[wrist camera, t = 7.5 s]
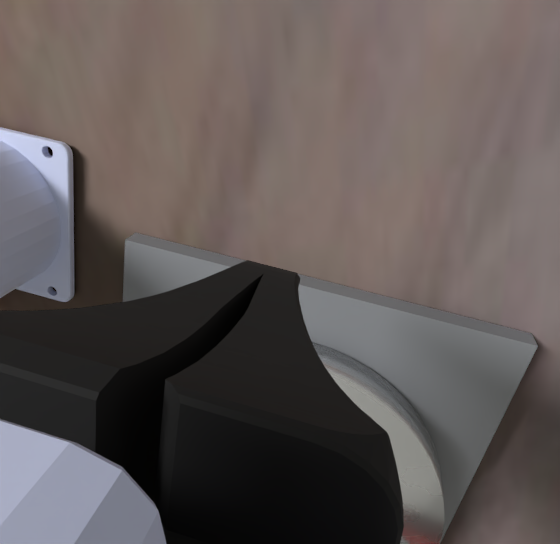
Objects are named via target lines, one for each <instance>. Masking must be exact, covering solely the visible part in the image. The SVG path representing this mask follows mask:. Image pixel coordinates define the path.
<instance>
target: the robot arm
mask: <svg viewBox="0 0 560 544" xmlns="http://www.w3.org/2000/svg"><path fill="white" fill-rule="evenodd" d="M48 147H50V148H51V149H52V151H53V156H51V155H50V154H49V152H48ZM299 283H300V277H299V275H298V274H297V273H295V272H291V271H287V270H283V269H279V268H276V267H272V266H268V265H264V264H260V263H256V262H252V261H244V262H241V263H239V264H237V265H234V266H232V267H230V268H227V269H225V270H223V271H220V272H218V273H216V274H213V275H211V276H208V277H206V278H204V279H201V280H199V281H196V282H193V283H190V284H187V285H184V286H182V287H179V288H176V289H173V290H170V291H167V292H164V293H160V294H156V295H153V296H149V297H144V298H140V299H136V300H131V301H126V302H120V303H113V304H106V305H99V306H92V307H84V308H73V309H60V310H38V311H5V310H0V544H400V542H401V537H402V533H403V528H404V510H403V500H402V493H401V487H400V481H399V475H398V470H397V465H396V461H395V457H394V453H393V449H392V445H391V441H390V438H389V435H388V433H387V431H385V430H384V429H383V428H382V427H381V426H380V425H379V424H377V423H376V422H375V421H374V420H373V419H372V418H370V417H369V416H368V415H367V414H366V413H365V412H364V411H362V410H361V409H360V408H359V407H358V406H357V405H356V404H355V403H354V402H353V401H352V400H351V399H350V398H349V397H348V396H347V395H346V393H345V392H344V391H343V390H342V389H341V388H340V387H339V386H338V384H337V383H336V382H335V380H334V379H333V378H332V376H331V375H330V373H329V372H328V371H327V369H326V368H325V366H324V365H323V363H322V361H321V359H320V358H319V356H318V354H317V352H316V350H315V348H314V346H313V344H312V341H311V339H310V336H309V334H308V331H307V328H306V325H305V322H304V319H303V315H302V311H301V306H300V301H299V293H298V287H299ZM53 287H54V288H55V289H56V291H57V292H55V291H54V290H53ZM14 289H18V290H21V291H25V292H28V293H32V294H35V295H39V296H43V297H46V298H50V299H53V300H57V301H61V302H67V301H69V300H71V299H72V298H73V297H74V293H75V292H74V198H73V153H72V150H71V148H70V147H69V146H68V145H67V144H66V143H64V142H61V141H57V140H53V139H48V138H44V137H40V136H36V135H31V134H27V133H23V132H19V131H14V130H10V129H6V128H2V127H0V298H1V297H3V296H5V295H6V294H8V293H9V292H11V291H13V290H14Z"/></svg>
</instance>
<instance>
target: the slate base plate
mask: <svg viewBox="0 0 560 544" xmlns="http://www.w3.org/2000/svg"><path fill="white" fill-rule="evenodd" d="M244 261H245V260H241V259H238V258H234V257H230V256H226V255H222V254H218V253H214V252H210V251H206V250H202V249H198V248H194V247H190V246H187V245H183V244H179V243H175V242H171V241H167V240H163V239H159V238H155V237H151V236H147V235H143V234H139V233H134V234H133V235H131V236H130V237H129V238H127V239H126V240H125V256H124V282H123V302H126V301H131V300H136V299H140V298H144V297H149V296H153V295H156V294H160V293H164V292H167V291H170V290H173V289H176V288H179V287H182V286H184V285H187V284H190V283H193V282H196V281H199V280H201V279H204V278H206V277H208V276H211V275H213V274H216V273H218V272H220V271H223V270H225V269H227V268H230V267H232V266H234V265H237V264H239V263H241V262H244ZM298 275H299V277H300V283H299V287H298V293H299V301H300V306H301V311H302V315H303V319H304V322H305V325H306V328H307V331H308V334H309V336H310V339H311V341H312V342H313V343H316V344H319V345H322V346H325V347H328V348H331V349H333V350H335V351H337V352H340V353H342V354H344V355H346V356H349V357H351V358H353V359H354V360H356V361H358V362H359V363H361V364H363V365H364V366H366V367H368V368H370V369H371V370H373V371H374V372H375V373H377V374H378V375H379V376H381V377H382V378H383V379H385V380H386V381H387V382H388V383H390V384H391V385H392V386H393V387H394V388H395V389H396V390H397V391H398V392H399V393H400V394H401V395H402V396H403V397H404V398H405V399H406V400H407V401H408V402H409V404H410V405H411V406H412V408H413V409H414V410H415V411H416V413H417V414H418V415H419V417H420V418H421V420H422V422H423V423H424V425H425V427H426V429H427V430H428V432H429V434H430V437H431V439H432V442H433V444H434V447H435V449H436V453H437V457H438V462H439V466H440V474H441V483H442V491H443V500H444V519H445V520H444V527H443V533H442V538H441V541H442V539H443V537H444V535H445V533H446V531H447V529H448V527H449V525H450V523H451V521H452V519H453V517H454V515H455V513H456V511H457V509H458V507H459V504H460V502H461V500H462V498H463V496H464V494H465V492H466V490H467V488H468V486H469V484H470V482H471V480H472V478H473V476H474V474H475V472H476V470H477V468H478V466H479V464H480V462H481V460H482V458H483V456H484V454H485V452H486V450H487V448H488V446H489V444H490V442H491V440H492V438H493V436H494V434H495V432H496V430H497V428H498V426H499V424H500V422H501V420H502V418H503V416H504V414H505V412H506V410H507V408H508V406H509V404H510V401H511V399H512V397H513V395H514V393H515V391H516V389H517V387H518V385H519V383H520V381H521V379H522V377H523V375H524V373H525V371H526V369H527V367H528V365H529V363H530V361H531V359H532V357H533V355H534V353H535V351H536V349H537V347H538V345H537V343H536V341H535V339H534V337H533V335H532V333H528V332H524V331H520V330H516V329H512V328H508V327H504V326H500V325H496V324H492V323H489V322H485V321H481V320H477V319H473V318H469V317H465V316H461V315H457V314H453V313H449V312H445V311H441V310H438V309H434V308H430V307H426V306H422V305H418V304H414V303H410V302H406V301H402V300H398V299H394V298H390V297H387V296H383V295H379V294H375V293H371V292H367V291H363V290H359V289H355V288H351V287H347V286H343V285H339V284H336V283H332V282H328V281H324V280H320V279H316V278H312V277H308V276H304V275H300V274H298ZM441 541H440V543H441ZM440 543H439V544H440Z"/></svg>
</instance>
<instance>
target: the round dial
mask: <svg viewBox="0 0 560 544" xmlns="http://www.w3.org/2000/svg"><path fill="white" fill-rule="evenodd" d="M312 344H313V346H314V348H315V350H316V352H317V354H318V356H319V358H320V359H321V361H322V363H323V365H324V366H325V368H326V369H327V371H328V372H329V373H330V375H331V376H332V378H333V379H334V380H335V382H336V383H337V384H338V386H339V387H340V388H341V389H342V390H343V391H344V392H345V393H346V395H347V396H348V397H349V398H350V399H351V400H352V401H353V402H354V403H355V404H356V405H357V406H358V407H359V408H360V409H361V410H362V411H364V412H365V413H366V414H367V415H368V416H369V417H370V418H372V419H373V420H374V421H375V422H376V423H377V424H379V425H380V426H381V427H382V428H383V429H384V430H385V431H387V433H388V435H389V438H390V441H391V445H392V449H393V453H394V457H395V461H396V465H397V470H398V475H399V481H400V487H401V493H402V500H403V510H404V528H403V533H402V537H401V542H400V544H439V543H440V541H441V538H442V533H443V527H444V520H445V519H444V500H443V491H442V483H441V474H440V466H439V462H438V457H437V453H436V449H435V447H434V444H433V442H432V439H431V437H430V434H429V432H428V430H427V429H426V427H425V425H424V423H423V422H422V420H421V418H420V417H419V415H418V414H417V413H416V411H415V410H414V409H413V408H412V406H411V405H410V404H409V402H408V401H407V400H406V399H405V398H404V397H403V396H402V395H401V394H400V393H399V392H398V391H397V390H396V389H395V388H394V387H393V386H392V385H391V384H390V383H388V382H387V381H386V380H385V379H383V378H382V377H381V376H379V375H378V374H377V373H375V372H374V371H373V370H371V369H370V368H368V367H366V366H364V365H363V364H361V363H359V362H358V361H356V360H354V359H353V358H351V357H349V356H346V355H344V354H342V353H340V352H337V351H335V350H333V349H331V348H328V347H325V346H322V345H319V344H316V343H313V342H312Z"/></svg>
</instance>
